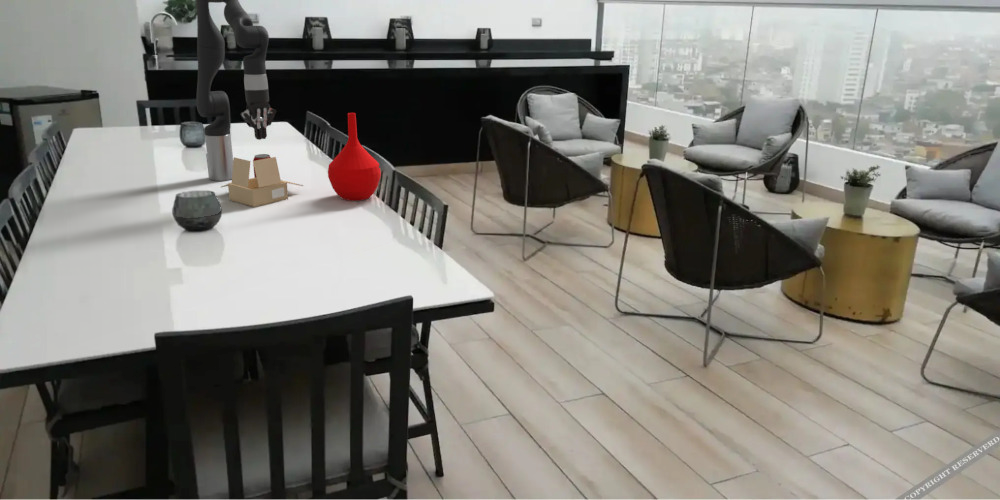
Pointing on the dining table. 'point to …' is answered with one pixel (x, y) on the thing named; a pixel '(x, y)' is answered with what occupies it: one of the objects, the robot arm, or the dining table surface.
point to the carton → (258, 193)
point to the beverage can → (259, 157)
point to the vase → (354, 168)
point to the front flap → (267, 172)
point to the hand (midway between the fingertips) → (261, 138)
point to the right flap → (240, 172)
